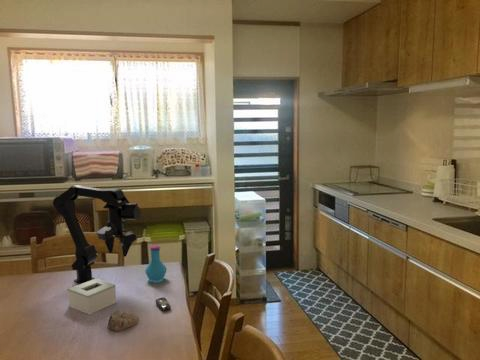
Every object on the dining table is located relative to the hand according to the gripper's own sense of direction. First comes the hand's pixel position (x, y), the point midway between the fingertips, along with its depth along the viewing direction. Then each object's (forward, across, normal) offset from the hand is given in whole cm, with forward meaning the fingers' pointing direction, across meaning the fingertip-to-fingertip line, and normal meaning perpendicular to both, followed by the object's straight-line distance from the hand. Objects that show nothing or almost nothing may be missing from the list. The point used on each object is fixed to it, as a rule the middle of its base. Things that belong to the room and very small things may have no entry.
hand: (117, 254), depth 169 cm
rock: (+13, +31, -23) cm, 41 cm away
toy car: (+13, +30, -5) cm, 34 cm away
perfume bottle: (+13, +10, +12) cm, 20 cm away
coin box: (+13, +8, -19) cm, 24 cm away
